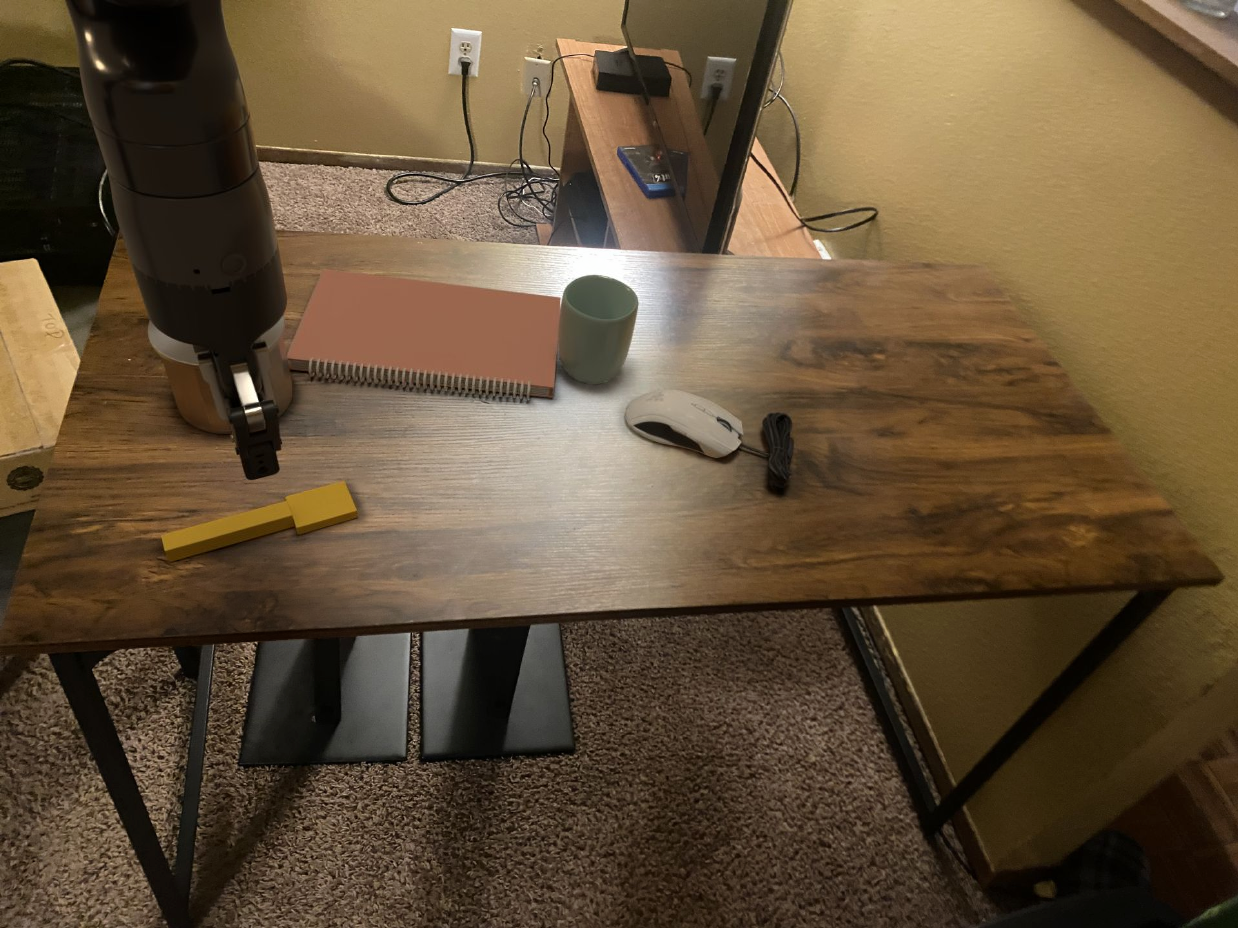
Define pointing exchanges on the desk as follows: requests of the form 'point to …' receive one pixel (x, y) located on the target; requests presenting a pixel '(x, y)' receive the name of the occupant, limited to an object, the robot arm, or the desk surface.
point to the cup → (596, 327)
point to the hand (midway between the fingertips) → (255, 453)
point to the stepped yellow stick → (265, 521)
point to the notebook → (428, 335)
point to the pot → (199, 400)
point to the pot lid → (185, 352)
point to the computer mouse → (708, 428)
